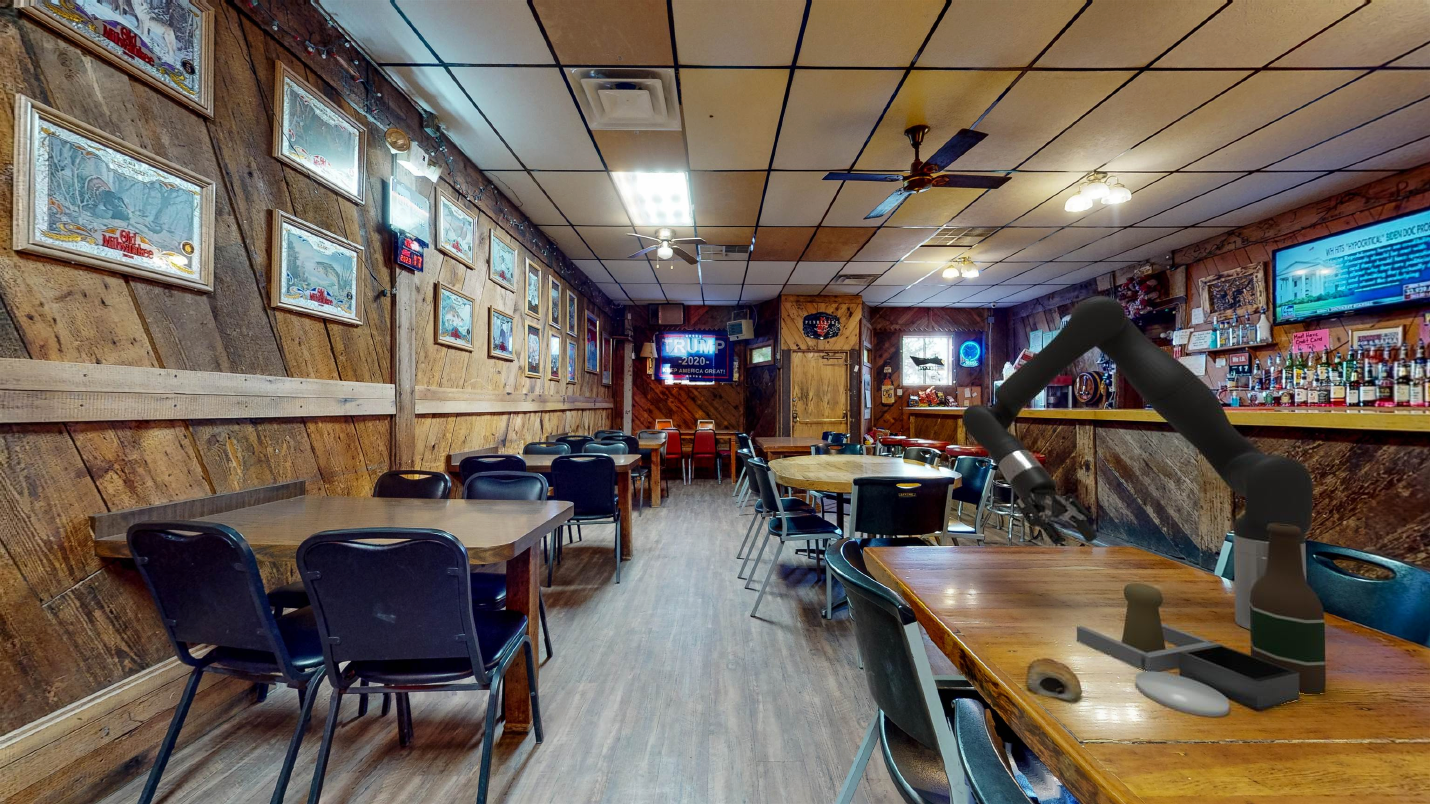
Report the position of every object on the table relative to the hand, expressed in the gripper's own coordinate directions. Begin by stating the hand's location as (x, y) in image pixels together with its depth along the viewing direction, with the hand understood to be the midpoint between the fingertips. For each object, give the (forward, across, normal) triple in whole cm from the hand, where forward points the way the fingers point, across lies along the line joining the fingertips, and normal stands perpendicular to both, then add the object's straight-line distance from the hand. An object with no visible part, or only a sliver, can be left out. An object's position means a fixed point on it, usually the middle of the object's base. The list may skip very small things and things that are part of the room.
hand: (1076, 541), depth 99 cm
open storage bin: (+29, 0, -6) cm, 29 cm away
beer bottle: (+29, +9, -7) cm, 32 cm away
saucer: (+28, -11, -6) cm, 31 cm away
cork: (+20, 0, +3) cm, 20 cm away
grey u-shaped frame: (+20, 0, +3) cm, 20 cm away
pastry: (+23, -26, 0) cm, 35 cm away
